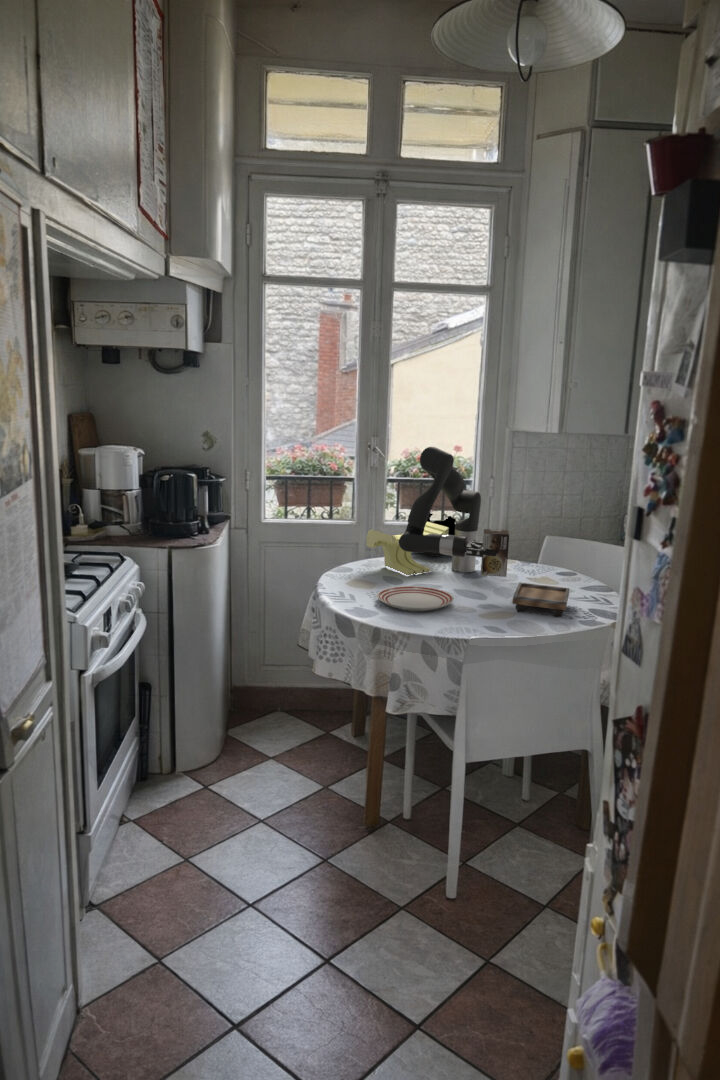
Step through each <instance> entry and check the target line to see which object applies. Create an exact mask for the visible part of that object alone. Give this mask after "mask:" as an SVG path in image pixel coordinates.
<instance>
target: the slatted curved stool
mask: <svg viewBox="0 0 720 1080" xmlns="http://www.w3.org/2000/svg"><path fill="white" fill-rule="evenodd" d="M431 522H432V521H431ZM431 522H427V523H426V525H425V528H424V533H423V535H427V534H441V535H443V534H444V535H447V534H448V532H449V528H448V527H445V526H441V525H438V524H434V523H431ZM403 534H404V533H401V534H396V535H391V534H388V533H384V532H382V531H378V530H375V529H369V530H368V531H367V535H366V547H368V548H372V549H374V548H377V547H382V551H383V557H384V559H383V560H384V567H385V566H388V567H390V568H393V569H395V570H397V571H400V572H402V573H404V574H406V575H411V574H414V573H415V574H417V573H423V572H429V571H431V569H430V567H427V566H425V565H422V564H420V563H418V562H417V561H416V560H414V559H413V557H412V552H407V551H404V550H403V549H402V548H401V547H400V546H399V539H400V537H401V536H402V535H403ZM423 574H424V573H423Z"/></svg>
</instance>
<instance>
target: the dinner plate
mask: <svg viewBox="0 0 720 1080" xmlns="http://www.w3.org/2000/svg"><path fill="white" fill-rule="evenodd" d="M376 597H377V599H378V600H379V601H380V602H382V603H384V604H385V605H387V606H390V607H393V608H396V609H397V608H399V609H398V610H401V609H404V610H403V611H406V610H410V611H409V612H417V611H421V612H429V611H433V610H437V609H441V608H444V607H446V606H448V605H450V604H451V603H453V601H454V600H455V597H454V596H453V594H451V593H449V592H448V591H445V590H443V589H439V588H434V587H428V586H418V585H401V586H393V587H392V586H391V587H388V588H384V589H381V590H379V591H378V592H377V593H376Z"/></svg>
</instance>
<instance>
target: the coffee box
mask: <svg viewBox="0 0 720 1080" xmlns="http://www.w3.org/2000/svg"><path fill="white" fill-rule="evenodd" d="M482 541H483V547H482V548H485V549H492V550H496V551H497V554H496V556H487V555H485V556H483V557H481V565H480V575H481V576H482V577H485V576H486V577H498V578H499V577H504V578H506V577H507V575H508V574H507V573H508V561H509V560H508V559H509V544H510V532H509V530H507V529H492V528H491V529H490V528H484V529H483V535H482Z"/></svg>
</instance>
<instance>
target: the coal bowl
mask: <svg viewBox="0 0 720 1080" xmlns="http://www.w3.org/2000/svg"><path fill="white" fill-rule="evenodd" d="M433 515H434V513H431V512H430V514H429V517H428V520H427V522H431V523H434V524H438V525H441V526H445V527H448V528H449V532H448V534H447V535H455V524H456V522H457V521H456V520H457V519H456V518H454V517H453V516H451V515H448V516H447V518H445V519H444V520H433V521H431V517H432V516H433ZM443 535H444V534H443ZM421 553H422V554H424V555H427V556H429V555H433V556H432V557H438V556H437V555H439V556H442V555H444V554H440V553H432V552H421Z"/></svg>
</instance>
